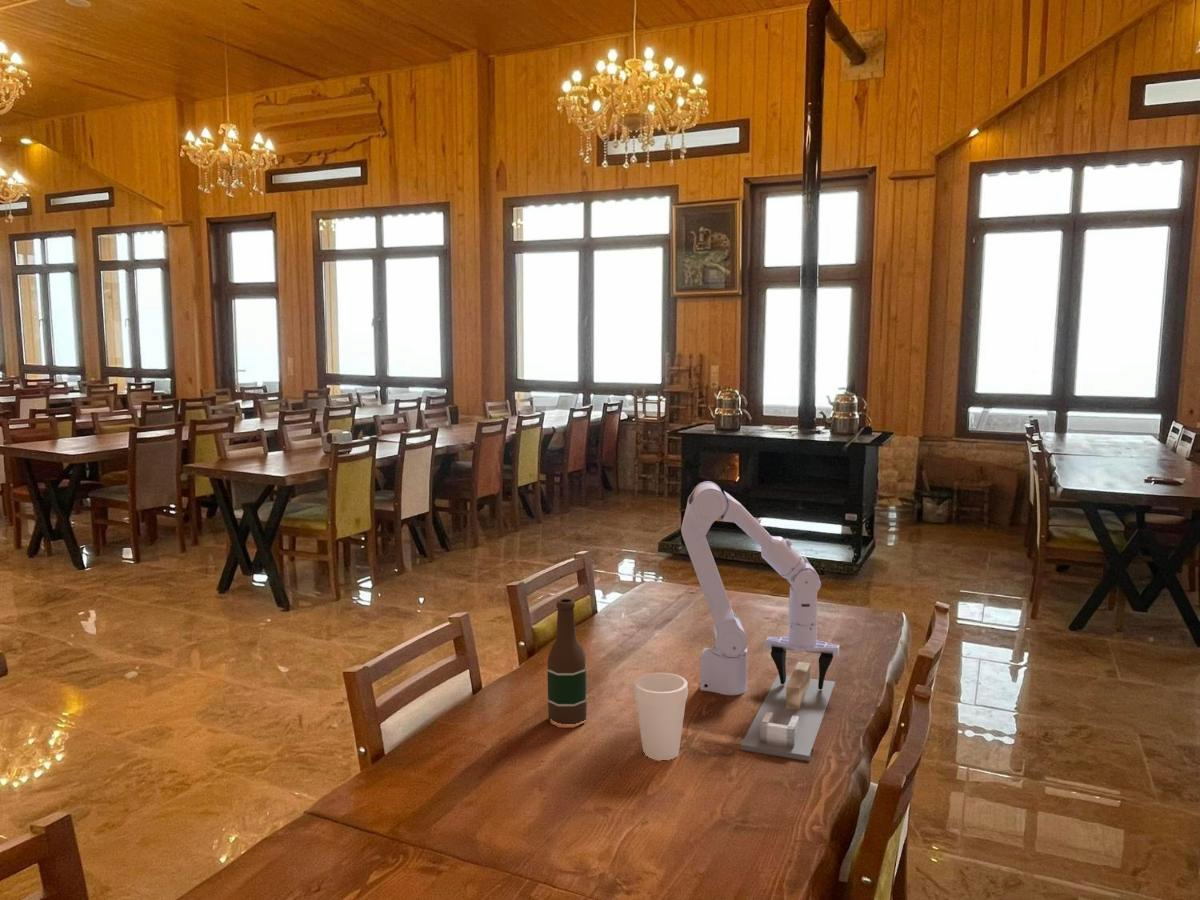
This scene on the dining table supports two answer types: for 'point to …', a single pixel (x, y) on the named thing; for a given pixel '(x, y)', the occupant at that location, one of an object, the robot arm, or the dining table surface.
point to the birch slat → (798, 686)
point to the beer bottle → (566, 670)
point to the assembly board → (808, 719)
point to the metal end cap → (779, 731)
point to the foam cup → (660, 713)
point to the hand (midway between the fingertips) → (801, 685)
